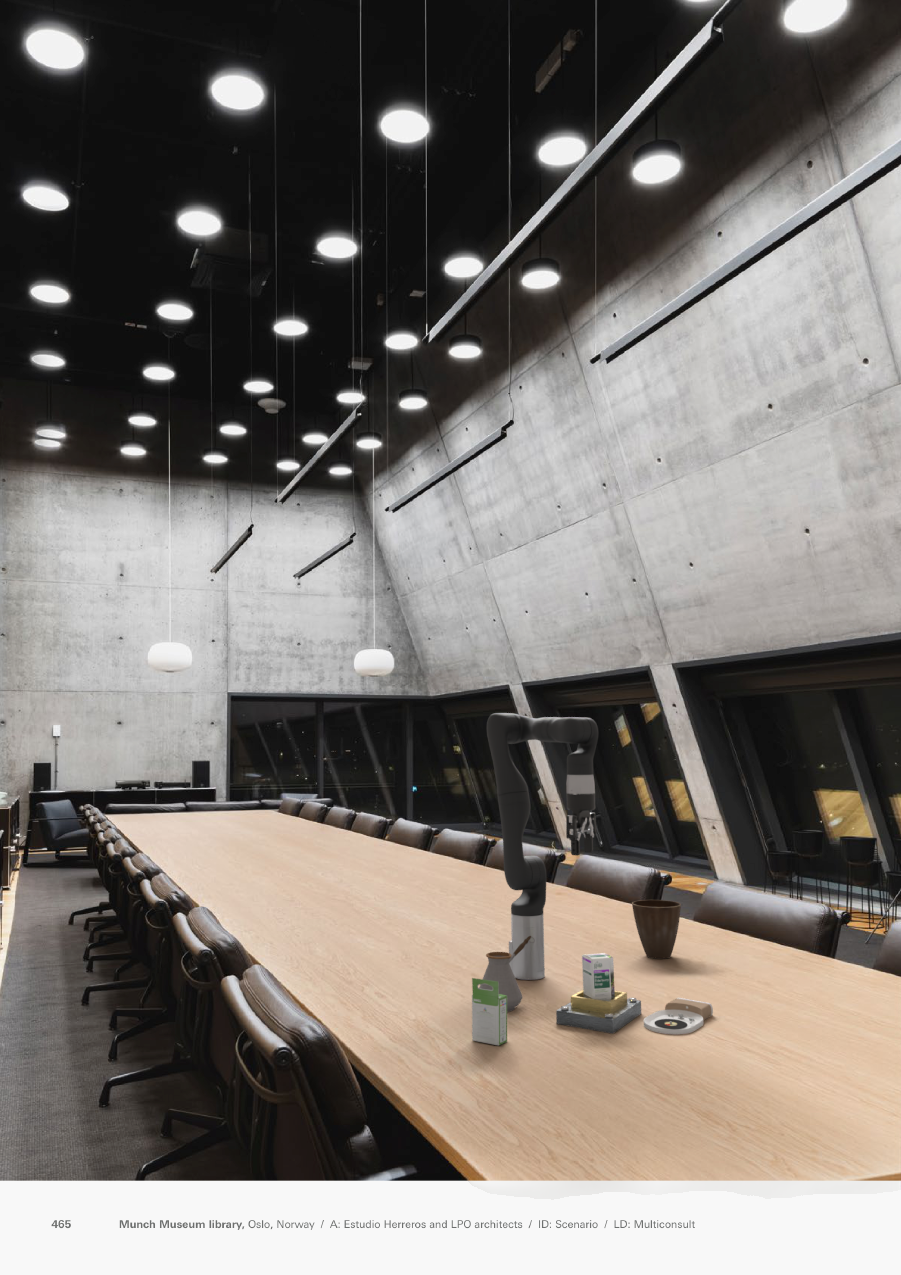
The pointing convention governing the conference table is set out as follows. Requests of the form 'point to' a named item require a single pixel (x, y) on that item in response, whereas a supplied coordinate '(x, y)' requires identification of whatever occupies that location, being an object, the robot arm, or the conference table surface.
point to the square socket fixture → (599, 1012)
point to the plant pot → (657, 926)
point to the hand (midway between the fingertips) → (582, 853)
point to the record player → (679, 1017)
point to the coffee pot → (504, 975)
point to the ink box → (488, 1013)
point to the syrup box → (598, 976)
